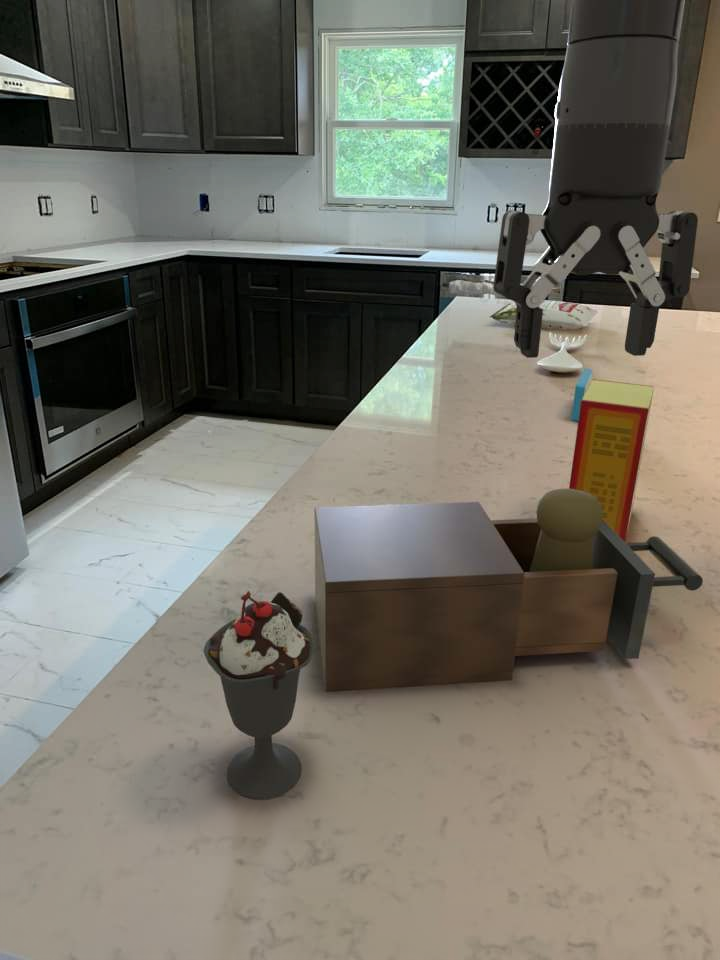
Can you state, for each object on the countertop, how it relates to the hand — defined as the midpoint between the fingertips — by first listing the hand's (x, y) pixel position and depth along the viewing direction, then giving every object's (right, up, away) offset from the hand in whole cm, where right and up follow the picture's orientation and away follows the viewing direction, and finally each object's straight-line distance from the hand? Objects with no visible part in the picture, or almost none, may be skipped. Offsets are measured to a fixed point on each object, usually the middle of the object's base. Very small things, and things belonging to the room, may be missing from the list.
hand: (582, 354), depth 56 cm
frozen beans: (+32, +32, +140) cm, 147 cm away
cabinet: (-13, -23, +6) cm, 28 cm away
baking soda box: (+10, -15, +28) cm, 33 cm away
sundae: (-23, -29, -8) cm, 38 cm away
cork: (0, -21, +7) cm, 22 cm away
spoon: (+27, +16, +102) cm, 107 cm away
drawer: (+1, -22, +8) cm, 23 cm away
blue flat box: (+20, +2, +68) cm, 71 cm away
